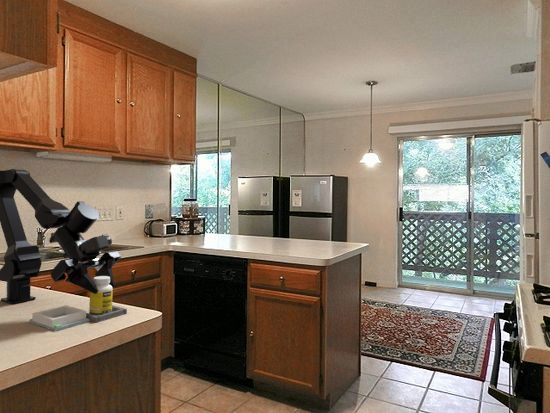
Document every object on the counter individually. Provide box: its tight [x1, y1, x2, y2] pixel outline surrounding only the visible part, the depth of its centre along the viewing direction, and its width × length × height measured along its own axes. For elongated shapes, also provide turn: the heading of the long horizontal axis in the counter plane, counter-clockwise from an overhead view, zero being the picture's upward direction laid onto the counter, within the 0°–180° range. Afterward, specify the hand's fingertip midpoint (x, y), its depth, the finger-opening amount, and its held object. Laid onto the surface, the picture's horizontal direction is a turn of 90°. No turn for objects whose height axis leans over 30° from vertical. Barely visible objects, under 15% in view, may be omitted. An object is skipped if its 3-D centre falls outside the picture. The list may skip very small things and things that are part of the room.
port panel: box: [28, 304, 90, 332], centre depth 95 cm, size 11×8×2 cm
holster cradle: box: [86, 304, 128, 323], centre depth 102 cm, size 9×9×1 cm
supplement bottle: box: [88, 276, 114, 316], centre depth 102 cm, size 5×5×10 cm
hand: (105, 290), depth 101 cm, fingers open, 6 cm apart
